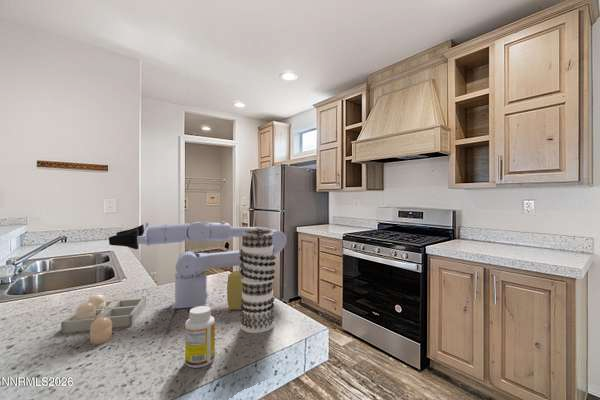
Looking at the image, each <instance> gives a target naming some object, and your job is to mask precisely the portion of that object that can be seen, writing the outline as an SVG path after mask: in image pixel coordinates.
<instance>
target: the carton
mask: <svg viewBox="0 0 600 400" xmlns="http://www.w3.org/2000/svg"><path fill="white" fill-rule="evenodd" d="M146 306H147V298H146V297H139V298H138V297H137V298H127V299H118V300H117V299H115V300H113V299H112V300H106V308H105V309H96V317H95V318H91V319H80V320H76V311H75V312H73V313H72V314H70V315H69V316H68V317H66V318H65V319H64V320H62V321H61V322H60V333H61V334H68V333H77V332H86V331H90V326H91V324H92V322H93V321H94V320H95V319H97V318H99V317H108V318H110V320H111V321H112V329H113V328H114V329H115V328H124V327H132V326H133V325H134V323H135V322H136V320H137V319H138V318H139V316H140V315H141V313H142V312H143V311H144V309H145V308H146Z"/></svg>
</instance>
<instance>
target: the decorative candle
mask: <svg viewBox="0 0 600 400" xmlns="http://www.w3.org/2000/svg"><path fill="white" fill-rule="evenodd" d="M250 227H251V228H248V229H247V230H246V231H245V233H244V234H242V235H243V237H242V245H241V249H240V251H239V253H240V254H241V256H240V258H239V259H240V260H241V261H242V263H241V265H239V267H240V270H239V271H240V273H241V275H242V277H241V281H242V282H243V291H242V299H241V303H242V305H241V309H240V310H241V311H240V317H241V318H240V323H241V324H240V328H241V330H242V331H243V332H246V333H251V334H260V333H265V332H268V331H271V329H273V328H274V327H275V325H274V324H275V322H274V321H275V320H274V319H275V316H274V315H275V310H274V306H275V303H274V301H275V297H274V289H273V281H275V276H274V275H273V274H275V272H276V270H275V269H273V267H274V266H276V262H275V261H274V260H276V256H275V255H274V256H272V252H273V251H274V248H273V245H272V234H274V233H272V232H271V231H270V229H271V228H269V227H265V226H263V227H262V226H250Z"/></svg>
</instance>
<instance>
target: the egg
mask: <svg viewBox="0 0 600 400" xmlns="http://www.w3.org/2000/svg"><path fill="white" fill-rule="evenodd" d="M112 336H113V328H112V321H111V320H110V318H108V317H99V318H97V319H95V320H94V321H93V322H92V324H91V326H90V330H89V344H90V345H102V344H105V343H107V342H108V341H110V340H111V339H112V338H113V337H112Z"/></svg>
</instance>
